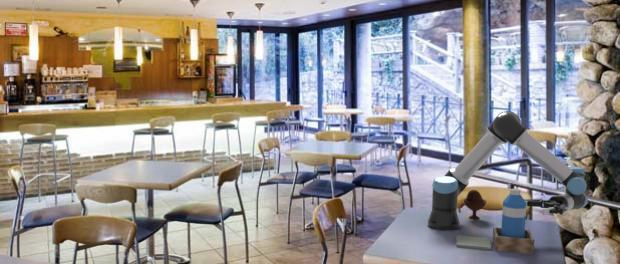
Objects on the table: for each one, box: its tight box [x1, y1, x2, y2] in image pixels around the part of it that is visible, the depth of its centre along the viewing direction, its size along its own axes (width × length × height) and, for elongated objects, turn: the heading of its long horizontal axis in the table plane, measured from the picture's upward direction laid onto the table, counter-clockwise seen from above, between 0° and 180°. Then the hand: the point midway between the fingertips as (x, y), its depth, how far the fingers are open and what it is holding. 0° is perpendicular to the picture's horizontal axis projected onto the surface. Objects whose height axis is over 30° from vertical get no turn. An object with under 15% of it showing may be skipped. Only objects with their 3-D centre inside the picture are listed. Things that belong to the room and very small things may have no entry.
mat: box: [456, 235, 492, 251], centre depth 235 cm, size 14×14×1 cm
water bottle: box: [501, 188, 527, 238], centre depth 230 cm, size 9×9×25 cm
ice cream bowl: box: [463, 189, 487, 221], centre depth 276 cm, size 11×11×15 cm
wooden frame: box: [492, 226, 535, 255], centre depth 231 cm, size 15×15×6 cm
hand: (529, 208), depth 234 cm, fingers open, 13 cm apart
